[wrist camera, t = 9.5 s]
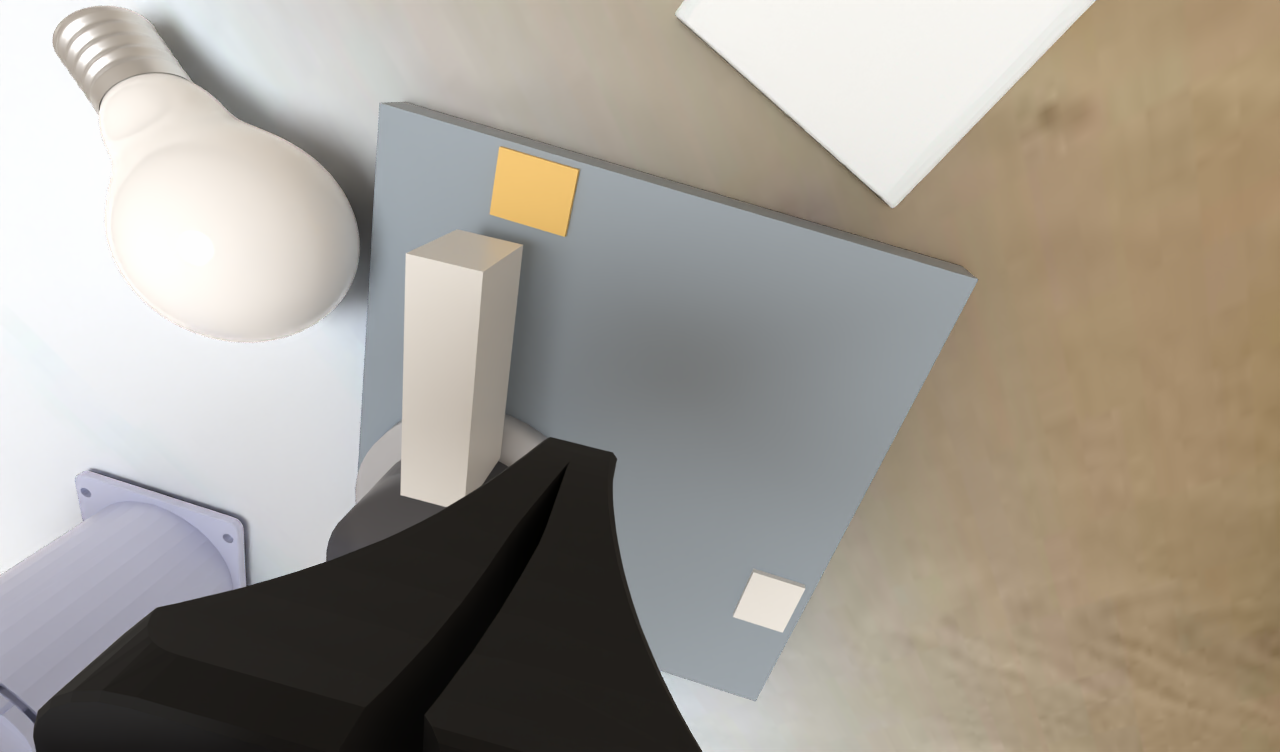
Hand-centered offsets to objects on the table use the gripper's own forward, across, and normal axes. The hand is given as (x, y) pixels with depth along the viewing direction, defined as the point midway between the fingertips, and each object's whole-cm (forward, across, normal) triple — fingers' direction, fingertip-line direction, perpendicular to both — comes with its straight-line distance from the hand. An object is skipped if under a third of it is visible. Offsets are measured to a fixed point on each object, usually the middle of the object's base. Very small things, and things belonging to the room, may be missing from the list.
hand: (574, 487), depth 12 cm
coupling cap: (+8, +5, +5) cm, 10 cm away
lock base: (+10, +1, +5) cm, 12 cm away
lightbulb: (+9, +18, -6) cm, 21 cm away
